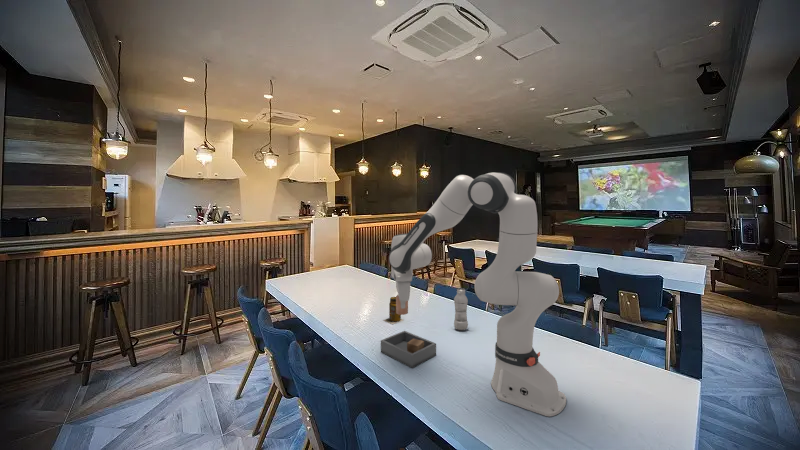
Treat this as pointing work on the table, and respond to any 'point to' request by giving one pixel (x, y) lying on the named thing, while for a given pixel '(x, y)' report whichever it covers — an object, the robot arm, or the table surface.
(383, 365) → the table surface
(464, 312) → the plastic bottle
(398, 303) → the terracotta cylinder
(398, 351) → the tote
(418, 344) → the walnut cube
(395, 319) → the condiment
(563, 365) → the table surface
